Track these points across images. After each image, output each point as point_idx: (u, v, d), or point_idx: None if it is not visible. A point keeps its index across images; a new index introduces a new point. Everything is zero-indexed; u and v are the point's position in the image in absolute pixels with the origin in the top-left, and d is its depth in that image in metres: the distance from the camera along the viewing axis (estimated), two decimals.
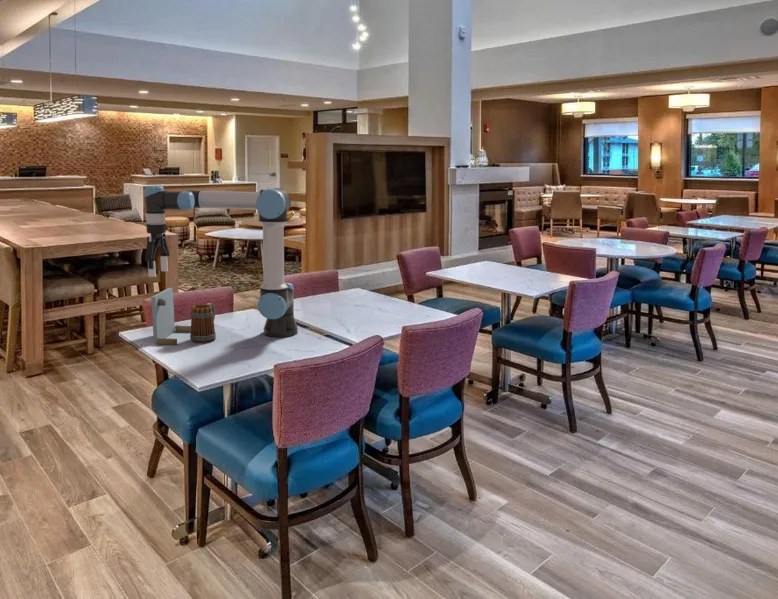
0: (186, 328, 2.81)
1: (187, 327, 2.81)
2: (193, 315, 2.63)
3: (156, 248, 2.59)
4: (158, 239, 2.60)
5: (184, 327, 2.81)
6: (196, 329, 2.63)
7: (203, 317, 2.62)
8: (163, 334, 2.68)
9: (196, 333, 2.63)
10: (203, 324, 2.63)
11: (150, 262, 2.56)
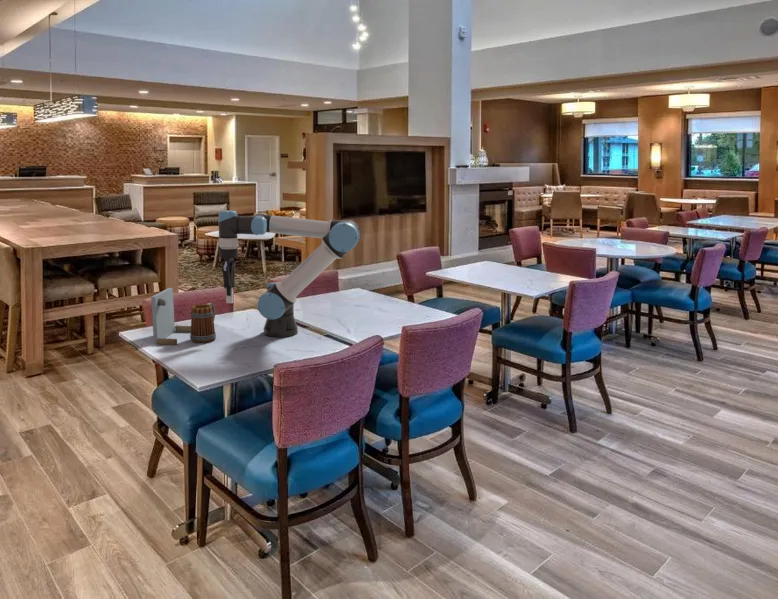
0: (186, 328, 2.81)
1: (187, 327, 2.81)
2: (193, 315, 2.63)
3: (231, 273, 2.64)
4: (230, 264, 2.62)
5: (184, 327, 2.81)
6: (196, 329, 2.63)
7: (203, 317, 2.62)
8: (163, 334, 2.68)
9: (196, 333, 2.63)
10: (203, 324, 2.63)
11: (228, 289, 2.64)
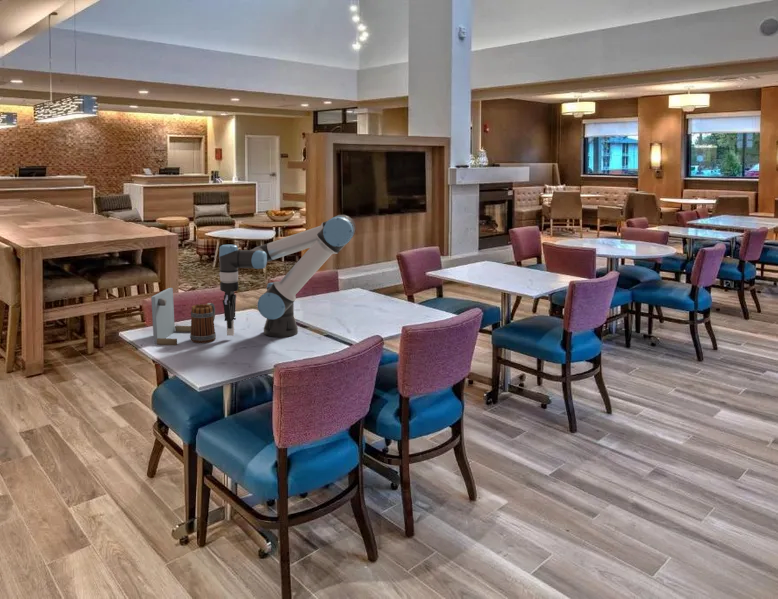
0: (186, 328, 2.81)
1: (187, 327, 2.81)
2: (193, 315, 2.63)
3: (232, 306, 2.67)
4: (231, 298, 2.65)
5: (184, 327, 2.81)
6: (196, 329, 2.63)
7: (203, 317, 2.62)
8: (163, 334, 2.68)
9: (196, 333, 2.63)
10: (203, 324, 2.63)
11: (229, 322, 2.67)
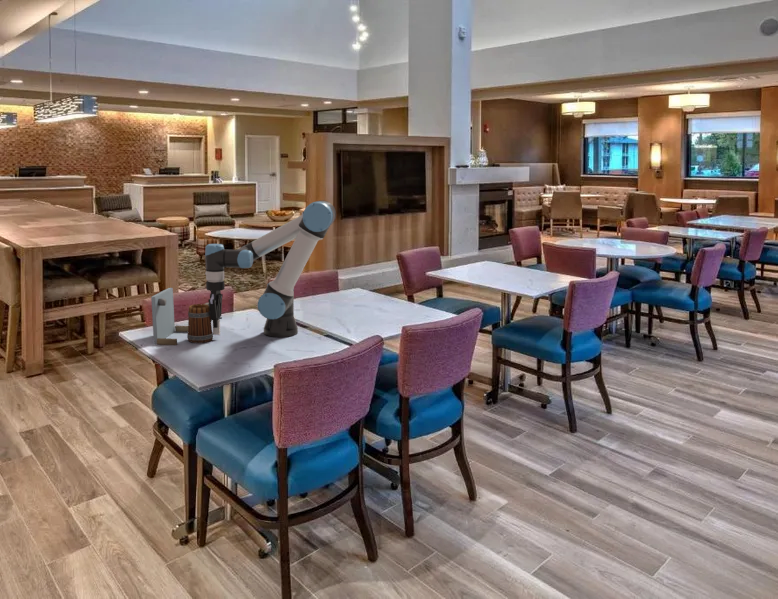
0: (186, 328, 2.81)
1: (187, 327, 2.81)
2: (190, 315, 2.63)
3: (218, 305, 2.67)
4: (217, 297, 2.65)
5: (184, 327, 2.81)
6: (193, 329, 2.63)
7: (200, 317, 2.62)
8: (163, 334, 2.68)
9: (193, 333, 2.63)
10: (200, 324, 2.63)
11: (215, 321, 2.67)
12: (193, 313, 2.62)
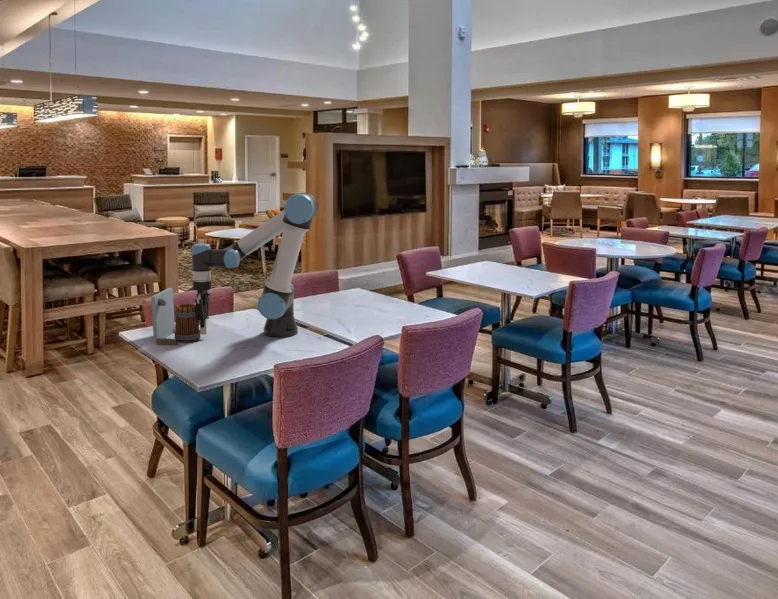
0: None
1: None
2: (176, 314, 2.63)
3: (204, 305, 2.67)
4: (204, 297, 2.65)
5: None
6: (179, 328, 2.63)
7: (185, 316, 2.62)
8: (163, 334, 2.68)
9: (179, 332, 2.64)
10: (185, 324, 2.63)
11: (202, 321, 2.68)
12: (179, 312, 2.62)
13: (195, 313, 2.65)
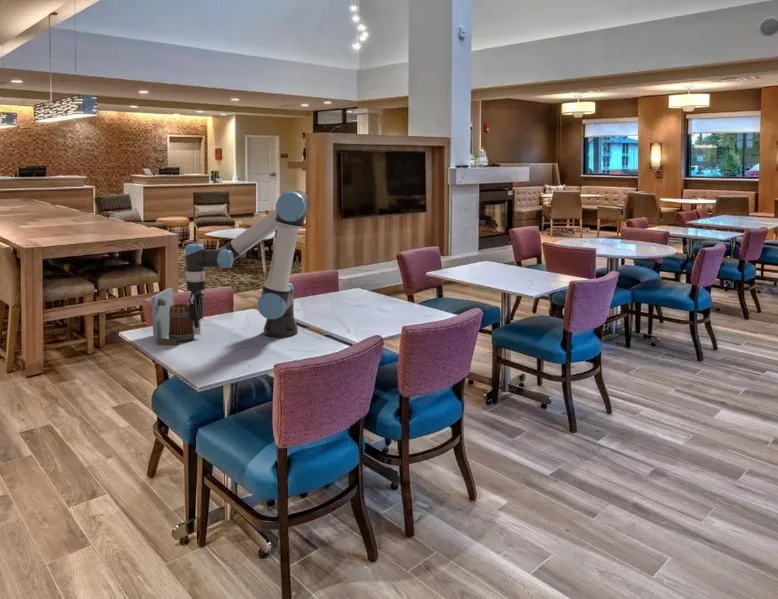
0: None
1: None
2: (170, 314, 2.64)
3: (198, 305, 2.67)
4: (198, 297, 2.65)
5: None
6: (172, 328, 2.64)
7: (179, 316, 2.62)
8: (163, 334, 2.68)
9: (172, 332, 2.64)
10: (179, 324, 2.63)
11: (196, 321, 2.68)
12: (172, 312, 2.63)
13: (189, 313, 2.65)
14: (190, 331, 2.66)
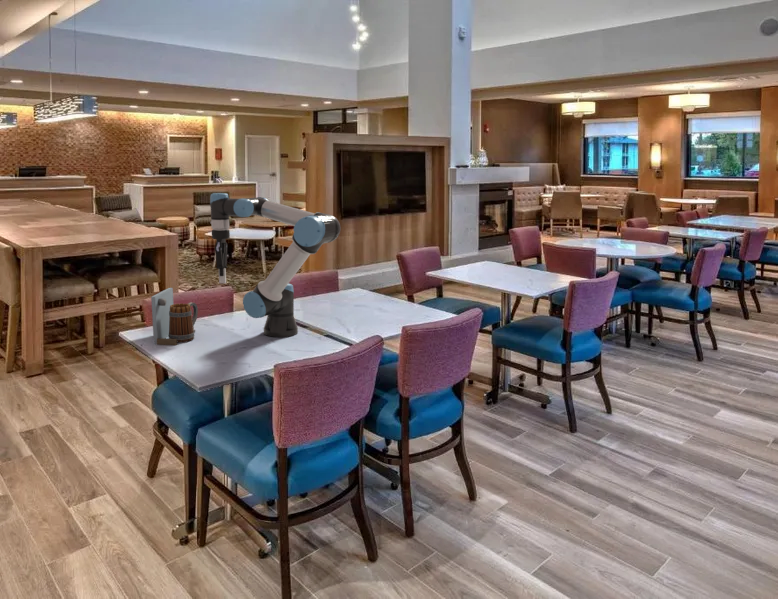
0: None
1: None
2: (170, 314, 2.64)
3: (223, 254, 2.72)
4: (223, 245, 2.71)
5: None
6: (172, 328, 2.64)
7: (179, 316, 2.62)
8: (163, 334, 2.68)
9: (172, 332, 2.64)
10: (179, 324, 2.63)
11: (221, 269, 2.73)
12: (172, 312, 2.63)
13: (189, 313, 2.65)
14: (190, 331, 2.66)
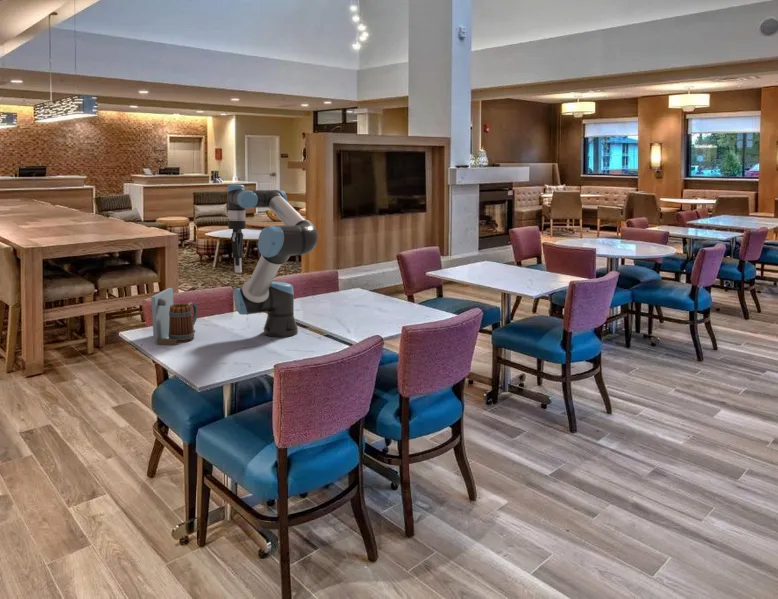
0: None
1: None
2: (170, 314, 2.64)
3: (239, 244, 2.79)
4: (239, 235, 2.78)
5: None
6: (172, 328, 2.64)
7: (179, 316, 2.62)
8: (163, 334, 2.68)
9: (172, 332, 2.64)
10: (179, 324, 2.63)
11: (237, 259, 2.80)
12: (172, 312, 2.63)
13: (189, 313, 2.65)
14: (190, 331, 2.66)
